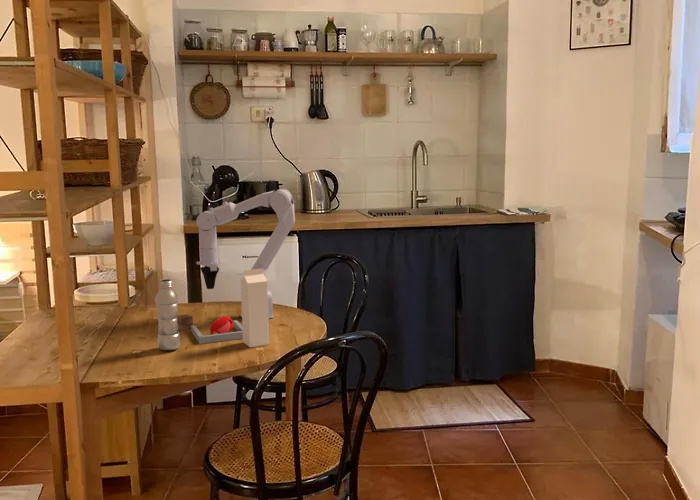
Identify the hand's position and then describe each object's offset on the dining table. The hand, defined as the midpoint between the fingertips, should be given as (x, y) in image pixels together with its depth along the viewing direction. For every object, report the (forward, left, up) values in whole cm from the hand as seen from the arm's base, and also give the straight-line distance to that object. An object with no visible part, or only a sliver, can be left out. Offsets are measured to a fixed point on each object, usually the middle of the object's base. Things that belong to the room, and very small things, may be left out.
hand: (210, 288), depth 227 cm
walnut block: (+10, +9, -10) cm, 17 cm away
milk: (-6, +34, -10) cm, 36 cm away
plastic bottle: (+18, +29, -10) cm, 36 cm away
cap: (+1, +22, -10) cm, 25 cm away
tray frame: (+2, +20, -10) cm, 23 cm away
